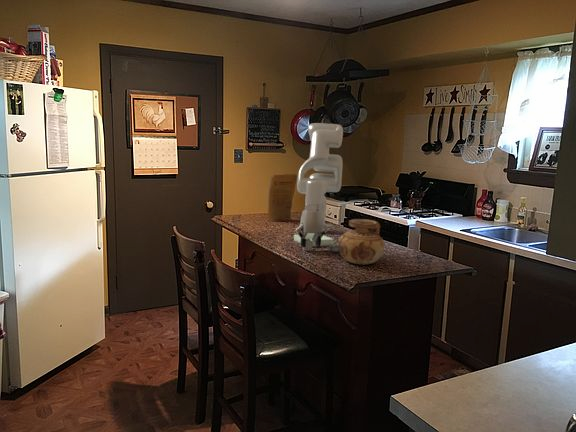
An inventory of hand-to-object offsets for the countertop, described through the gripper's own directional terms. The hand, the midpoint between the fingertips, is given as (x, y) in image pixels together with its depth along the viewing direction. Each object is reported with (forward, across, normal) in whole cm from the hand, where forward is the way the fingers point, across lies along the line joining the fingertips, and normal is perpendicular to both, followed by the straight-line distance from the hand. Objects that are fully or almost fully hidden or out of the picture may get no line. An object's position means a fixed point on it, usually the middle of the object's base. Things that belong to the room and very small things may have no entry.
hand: (310, 245), depth 220 cm
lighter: (+2, 0, 0) cm, 2 cm away
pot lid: (+2, -11, +6) cm, 13 cm away
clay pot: (+2, -10, +24) cm, 26 cm away
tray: (+2, -9, -12) cm, 15 cm away
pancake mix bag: (+2, -20, -68) cm, 71 cm away
